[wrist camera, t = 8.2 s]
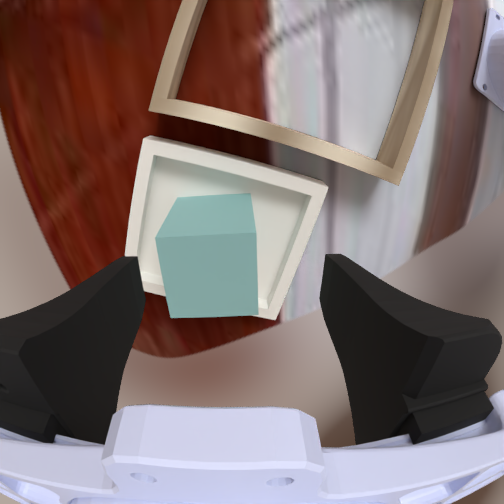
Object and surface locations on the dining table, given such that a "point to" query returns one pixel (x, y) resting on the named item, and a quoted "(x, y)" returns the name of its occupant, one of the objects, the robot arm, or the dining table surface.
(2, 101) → the dining table surface
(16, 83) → the dining table surface
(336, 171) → the dining table surface
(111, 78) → the dining table surface
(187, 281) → the teal block
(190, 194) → the tray
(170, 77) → the bin
